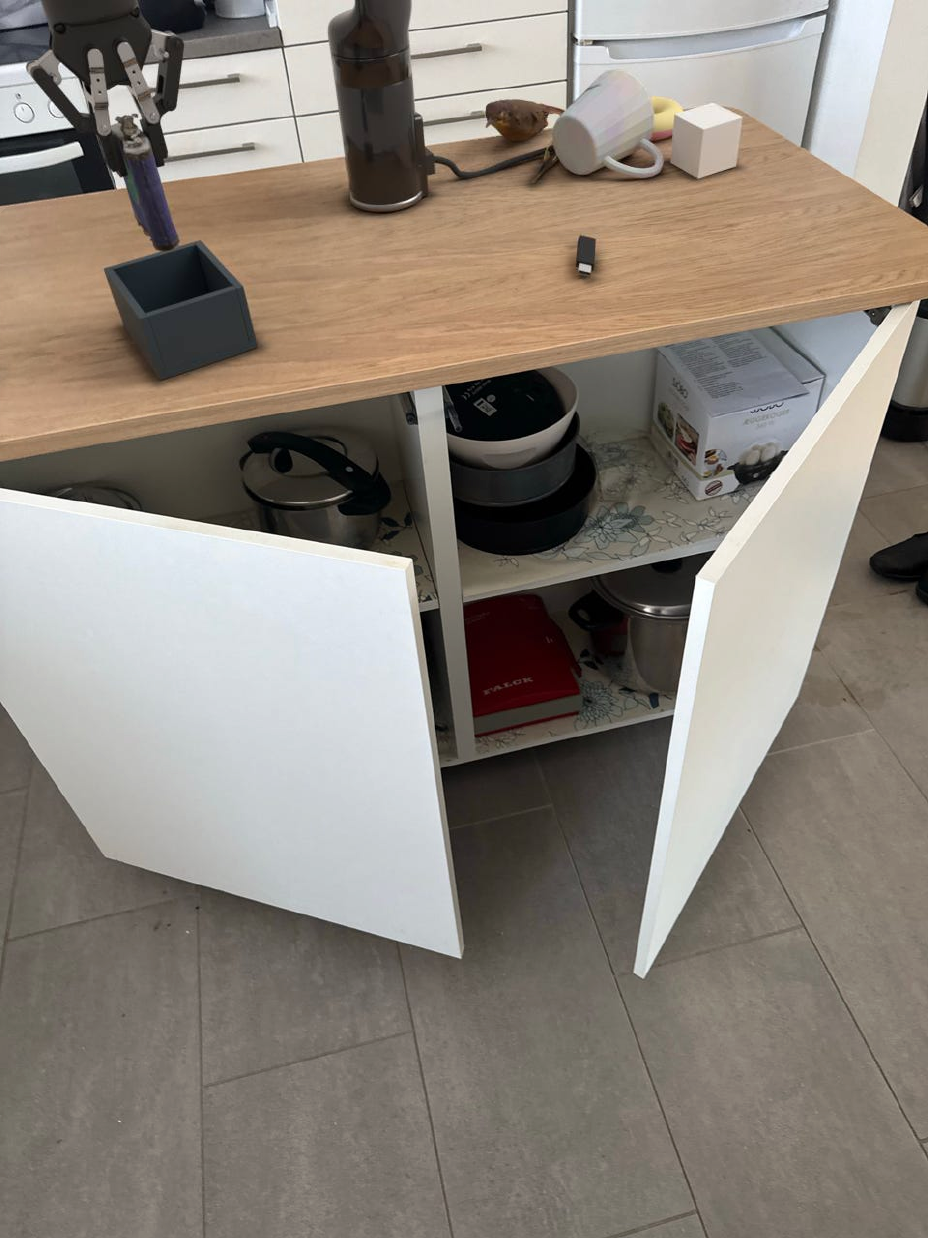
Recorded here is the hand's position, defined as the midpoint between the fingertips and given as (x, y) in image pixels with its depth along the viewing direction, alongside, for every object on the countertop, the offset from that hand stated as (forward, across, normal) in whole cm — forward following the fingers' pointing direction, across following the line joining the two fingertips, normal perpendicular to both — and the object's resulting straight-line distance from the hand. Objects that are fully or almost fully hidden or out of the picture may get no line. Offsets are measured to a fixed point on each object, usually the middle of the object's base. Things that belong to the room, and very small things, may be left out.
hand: (139, 168), depth 87 cm
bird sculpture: (+18, -58, -24) cm, 65 cm away
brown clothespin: (+18, -54, -13) cm, 59 cm away
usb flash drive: (+16, -43, +12) cm, 48 cm away
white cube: (+10, -70, +2) cm, 70 cm away
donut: (+16, -74, -10) cm, 76 cm away
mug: (+15, -56, -7) cm, 58 cm away
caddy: (+17, 0, 0) cm, 17 cm away
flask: (+6, 0, 0) cm, 6 cm away
